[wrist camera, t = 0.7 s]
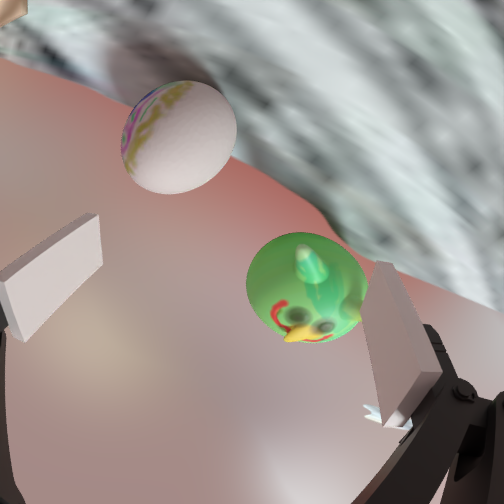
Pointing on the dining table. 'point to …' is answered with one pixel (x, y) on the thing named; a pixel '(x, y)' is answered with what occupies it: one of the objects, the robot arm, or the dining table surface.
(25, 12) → the square base plate
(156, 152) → the decorative egg
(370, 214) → the dining table surface
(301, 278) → the toy bird
